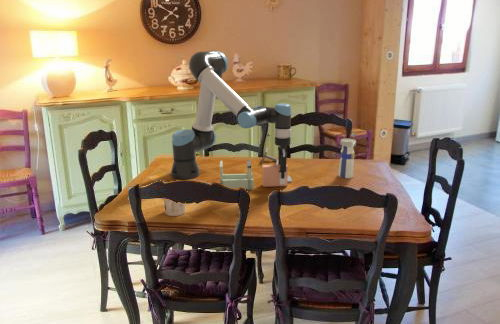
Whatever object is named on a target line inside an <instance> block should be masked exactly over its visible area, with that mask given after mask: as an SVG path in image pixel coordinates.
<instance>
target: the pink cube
mask: <svg viewBox="0 0 500 324" xmlns="http://www.w3.org/2000/svg"><path fill="white" fill-rule="evenodd" d="M261 167H262V172H261V173H262V181H261V183H262V187H264V188H265V187H287V186H288V182H287V178H288V176H289V174H288V169H289V167H288V164H287V163H286V174H285V184H281V185H280V172H279V171H280V165H276V164H262V166H261Z"/></svg>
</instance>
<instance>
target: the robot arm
mask: <svg viewBox="0 0 500 324" xmlns="http://www.w3.org/2000/svg"><path fill="white" fill-rule="evenodd" d="M188 68H189V70H190V73H191V75H192V77H194V78H195V80H196V81H197V82H198V83H200V88H199V95H198V102H197V107H196V117H195V122H194V123H192V124H191V129H179V130H177V131H174V133H173V134H172V139H171V144H172V157H173V159H172V160H173V163H172V166H171V170H170V176H171V178H174V179H178V180H179V179H180V180H187V179H194V178H197V177H199V176H200V174H201V173H200V171H201V170H200V168H199V165H198V162H197V160H196V159H197V157H196V153H198V152H202V151H204V150H207V149H210V148H211V147H212V146H214V144H215V143H216V139H217V136H216V133H215V130H214V126H213V125H212V121H213V114H214V111H215V103H216V98H217V99H218V100H219V101H220V102H222V103H223V105H224V106H225V107H227V109H229V111H231V112H232V113H233V115H234V116H236V118H237V122H238V123H237V124H238V125H239V126H240V127H241V128H243V129H252V128H254V127H255V126H259V125H262V124H265V123H267V124H274V144H275V146H277V151H278V153H277V154H278V158H277V159H278V165H280V171H279V172H280V185H281V184H285V174H286V164H287V160H288V159H287V158H288V157H287V156H288V154H287V153H288V149H287V146H290V145H291V132H293V129H291V128H292V127H291V126H292V125H291V123H292V121H291V120H292V107H291V105H290V104H289V103H276V104H275V105H274V107H273V106H272V107H270V106H263V105H255V106H254V107H253V108H252V107H251V106H250V105H249V104H248V103H246V101H244V99H242V98H241V97H240V96H239V95H238V93H236V92H235V91H234V90H233V89H232V88H231V87H230V86H229V85H228V84H227V83H226V82H225V81H224V80H223V78H222V77H223V75H224V74H225V72H227V71H228V68H229V61H228V58H227V57H226V55H225V53H223V52H222V51H219V50H207V51H197V52H195V53H194V54H192V56H191V57H190V59H189V62H188Z"/></svg>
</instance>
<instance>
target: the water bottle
mask: <svg viewBox="0 0 500 324" xmlns="http://www.w3.org/2000/svg"><path fill="white" fill-rule="evenodd" d="M356 134H357V132H355V131H353V132H352V133H351V135H352V136H351V138H342V139H340V140H339V141H340V142H339V143H340V145H341V150H340V153H341V154H340V157H339V165H338V166H339V167H338V168H339V169H338V174H337V175H338V177H339V178H342V179H353V178H354V166H355V165H354V164H355V163H354V162H355V161H354V159H355V158H356V153H355V150H354V147H356V146H357V140H356V139H354V138H356Z"/></svg>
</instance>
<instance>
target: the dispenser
mask: <svg viewBox="0 0 500 324" xmlns="http://www.w3.org/2000/svg"><path fill="white" fill-rule="evenodd" d="M223 164H224V163H223V160H220V161H219V177H220V178H219V181H220V183H219V185H220V184H222V185H225V186H227V187H231V188H239V187H243V188H245V189H247V190H254V189H255V188H254V187H255V180H254V178H253V176H254V173H252V163H251V160H250V159H249V160H246V173H225V174H224V167H223ZM247 190H246V191H247Z"/></svg>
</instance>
